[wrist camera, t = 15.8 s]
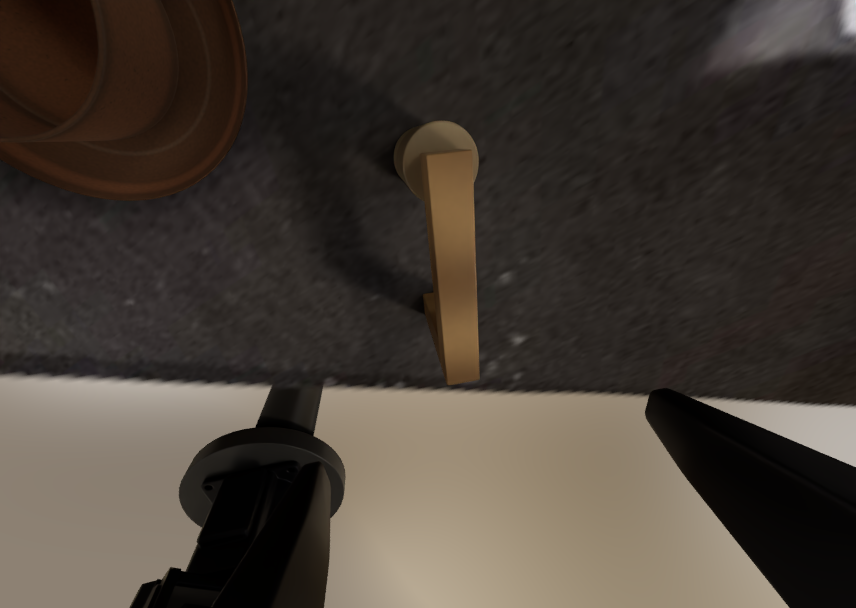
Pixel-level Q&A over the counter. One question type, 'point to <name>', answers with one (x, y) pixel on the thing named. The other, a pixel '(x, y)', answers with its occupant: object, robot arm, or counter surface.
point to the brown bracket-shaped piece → (447, 238)
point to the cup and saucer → (120, 92)
